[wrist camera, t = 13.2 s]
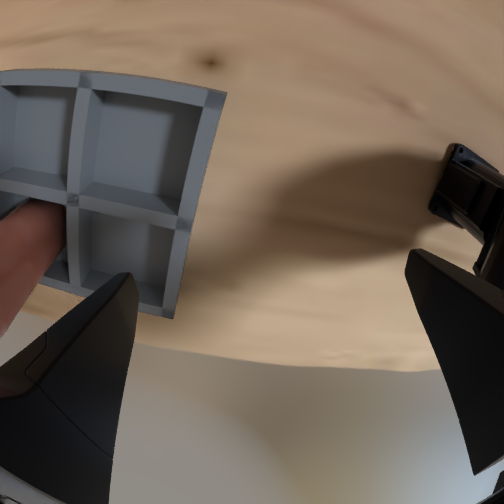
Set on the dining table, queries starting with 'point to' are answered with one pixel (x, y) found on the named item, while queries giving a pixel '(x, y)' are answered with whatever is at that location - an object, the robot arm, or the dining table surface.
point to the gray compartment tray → (110, 171)
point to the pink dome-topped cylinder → (28, 251)
